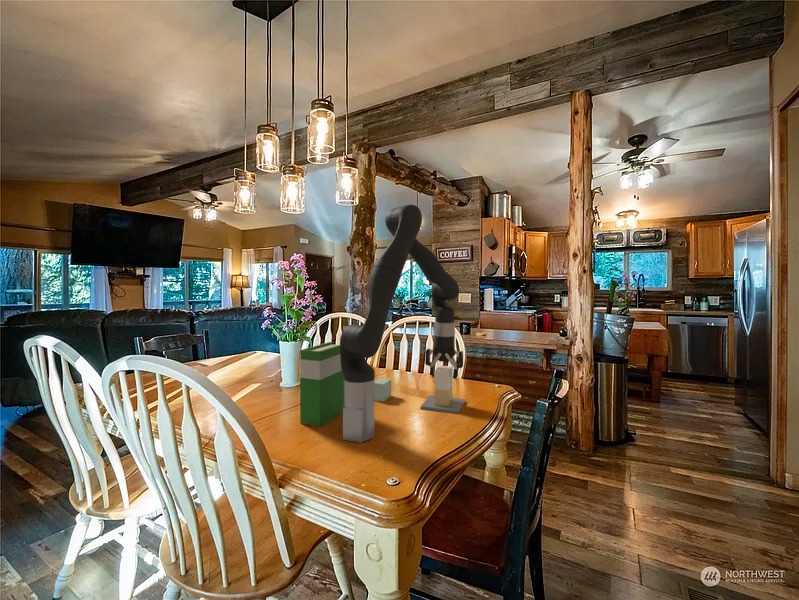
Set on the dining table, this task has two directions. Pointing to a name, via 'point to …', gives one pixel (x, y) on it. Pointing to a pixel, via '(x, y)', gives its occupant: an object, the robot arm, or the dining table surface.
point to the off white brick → (443, 377)
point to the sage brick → (382, 389)
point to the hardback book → (321, 384)
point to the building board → (441, 408)
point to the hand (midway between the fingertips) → (443, 377)
